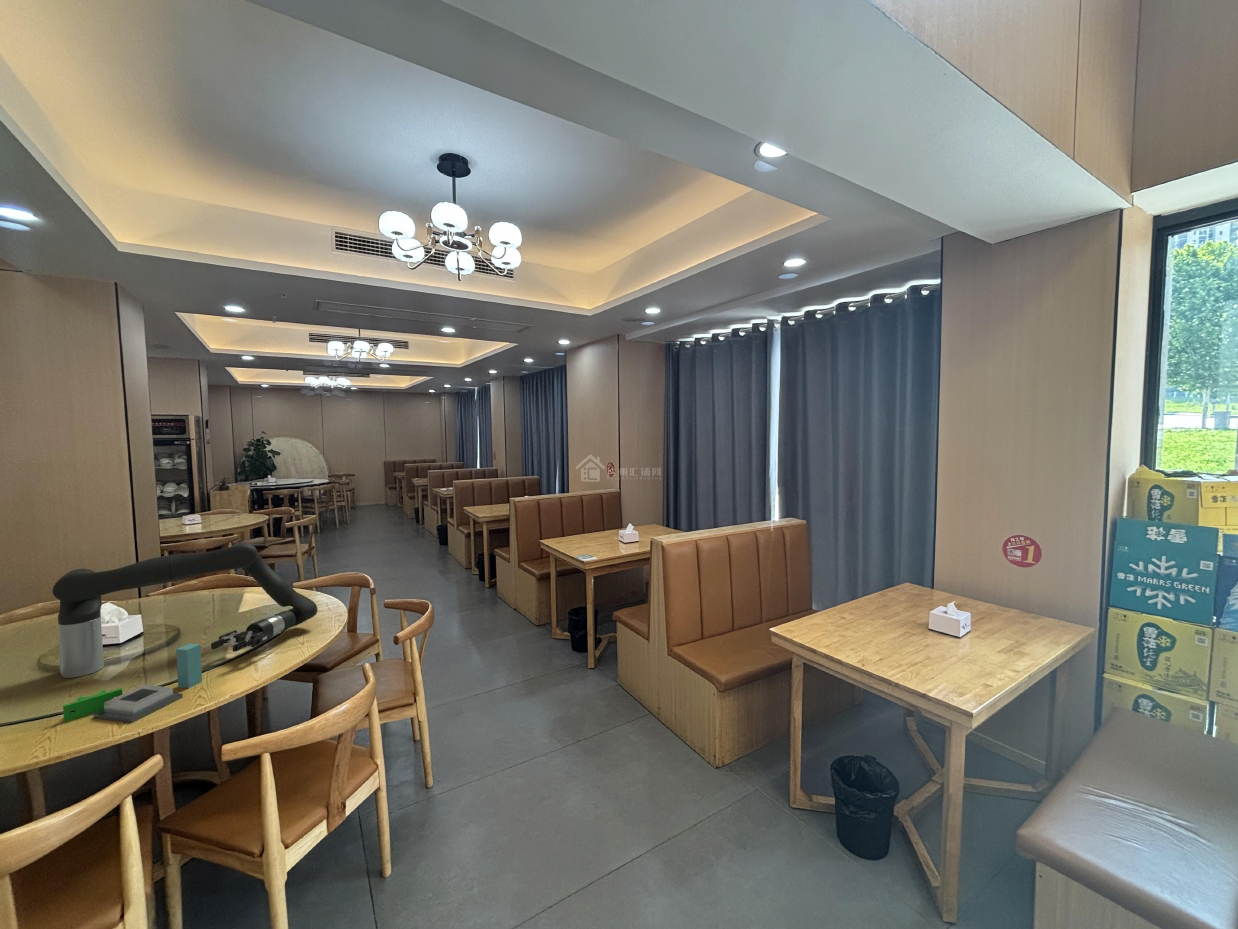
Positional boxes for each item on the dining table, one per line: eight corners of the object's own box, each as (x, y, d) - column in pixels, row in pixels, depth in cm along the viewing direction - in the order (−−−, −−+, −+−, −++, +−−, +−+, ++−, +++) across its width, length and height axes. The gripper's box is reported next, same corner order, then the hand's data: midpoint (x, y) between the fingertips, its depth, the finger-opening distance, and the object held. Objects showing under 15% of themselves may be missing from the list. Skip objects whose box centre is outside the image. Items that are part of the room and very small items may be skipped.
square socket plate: (93, 717, 133) (92, 705, 133) (146, 692, 146) (146, 681, 146) (131, 723, 131) (131, 710, 131) (182, 697, 144) (182, 685, 144)
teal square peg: (178, 687, 150) (176, 649, 149) (191, 680, 154) (189, 643, 153) (188, 688, 149) (187, 650, 148) (202, 681, 153) (200, 644, 152)
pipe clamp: (120, 700, 143) (119, 685, 142) (123, 704, 140) (122, 689, 140) (62, 718, 133) (61, 701, 133) (64, 722, 131) (63, 706, 131)
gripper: (248, 617, 178) (204, 634, 162) (282, 620, 176) (240, 638, 160) (249, 637, 179) (205, 656, 163) (283, 640, 176) (241, 660, 160)
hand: (222, 647), depth 161 cm, fingers open, 8 cm apart
